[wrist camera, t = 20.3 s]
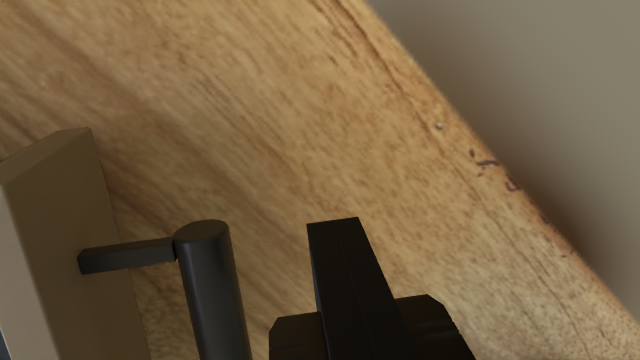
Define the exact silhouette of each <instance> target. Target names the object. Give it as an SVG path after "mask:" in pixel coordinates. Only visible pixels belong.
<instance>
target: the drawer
mask: <svg viewBox="0 0 640 360" xmlns="http://www.w3.org/2000/svg"><path fill="white" fill-rule="evenodd" d="M177 259H178V264H179V268H180V273H181V277H182V282H183V286H184V291H185V295H186V300H187V304H188V309H189V313H190V318H191V322H192V327H193V331H194V336H195V340H196V345H197V349H198V354H199V358H200V360H253V358H252V353H251V347H250V342H249V336H248V331H247V325H246V320H245V314H244V309H243V303H242V298H241V292H240V287H239V281H238V276H237V270H236V265H235V259H234V254H233V248H232V243H231V237H230V232H229V227H228V225H227V223H226V222H224V221H221V220H215V219H209V220H200V221H196V222H192V223H189V224H187V225H184V226H182V227H181V228H179V229H178V230H177V231H176V232H175V233H174V235H173V237H166V238H158V239H151V240H144V241H137V242H130V243H122V244H121V242H120V238H119V234H118V230H117V226H116V222H115V218H114V215H113V211H112V207H111V203H110V199H109V195H108V192H107V188H106V184H105V180H104V176H103V172H102V168H101V165H100V161H99V157H98V153H97V149H96V145H95V142H94V138H93V134H92V130H91V128H89V127H85V128H77V129H69V130H61V131H56V132H54V133H52V134H50V135H48V136H46V137H45V138H43V139H41V140H39V141H37V142H36V143H34V144H32V145H30V146H28V147H27V148H25V149H23V150H21V151H19V152H18V153H16V154H14V155H12V156H10V157H9V158H7V159H5V160H3V161H1V162H0V360H151V357H150V353H149V349H148V345H147V342H146V338H145V334H144V330H143V326H142V322H141V318H140V315H139V311H138V307H137V303H136V299H135V295H134V292H133V288H132V284H131V280H130V276H129V272H128V269H129V268H136V267H143V266H150V265H157V264H164V263H171V262H175V261H176V260H177Z"/></svg>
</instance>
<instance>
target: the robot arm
mask: <svg viewBox="0 0 640 360" xmlns="http://www.w3.org/2000/svg"><path fill="white" fill-rule="evenodd" d="M306 226H307V234H308V242H309V250H310V258H311V266H312V274H313V282H314V290H315V299H316V306H317V312H311V313H305V314H298V315H291V316H284V317H278V318H277V320H276V321H275V323H274V325H273V326H272V328H271V330H270V331H269V360H476V359H475V357H474V355H473V354H472V352H471V350H470V349H469V347H468V345H467V344H466V342H465V340H464V339H463V337H462V335H461V334H459V330H458V329H457V327H456V325H455V324H454V322H452V319H451V317H450V315H449V314H448V312H447V310H446V309H445V307H444V305H443V304H441V303H440V302H438V301H437V300H435V299H434V298H432V297H431V296H430V295H428V294H424V295H417V296H410V297H403V298H397V299H394V297H393V295H392V293H391V290H390V288H389V286H388V283H387V281H386V279H385V277H384V274H383V272H382V270H381V268H380V265H379V263H378V261H377V258H376V256H375V254H374V252H373V249H372V247H371V245H370V243H369V240H368V238H367V236H366V233H365V231H364V229H363V227H362V224H361V222H360V220H359V218H358V217H352V218H345V219H338V220H330V221H323V222H315V223H308V224H306Z"/></svg>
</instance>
